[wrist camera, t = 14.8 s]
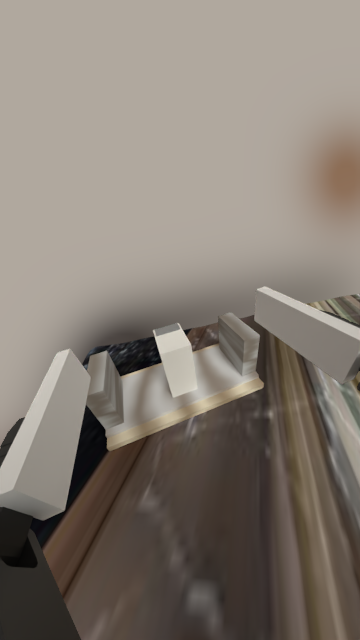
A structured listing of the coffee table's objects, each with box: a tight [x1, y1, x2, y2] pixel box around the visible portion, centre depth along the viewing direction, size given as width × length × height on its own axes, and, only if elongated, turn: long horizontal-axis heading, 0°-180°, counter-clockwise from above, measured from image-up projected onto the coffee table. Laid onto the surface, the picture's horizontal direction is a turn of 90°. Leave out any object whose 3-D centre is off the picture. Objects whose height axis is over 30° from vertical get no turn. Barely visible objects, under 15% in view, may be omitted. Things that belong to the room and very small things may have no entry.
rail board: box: [86, 313, 264, 451], centre depth 33 cm, size 29×14×11 cm, turn 107°
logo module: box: [153, 323, 198, 398], centre depth 32 cm, size 5×7×11 cm
